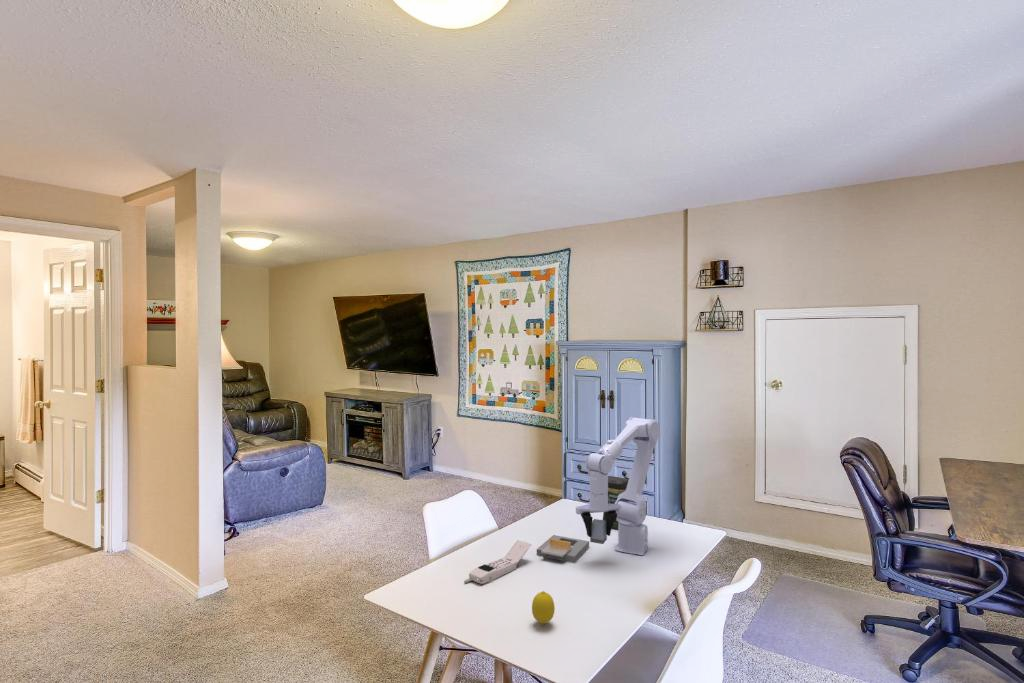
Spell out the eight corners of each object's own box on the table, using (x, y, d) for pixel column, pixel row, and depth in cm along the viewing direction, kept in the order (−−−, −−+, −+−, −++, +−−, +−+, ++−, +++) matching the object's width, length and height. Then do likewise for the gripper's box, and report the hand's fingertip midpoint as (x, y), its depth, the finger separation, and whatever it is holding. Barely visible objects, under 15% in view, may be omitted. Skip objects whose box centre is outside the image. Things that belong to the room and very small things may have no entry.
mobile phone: (533, 543, 167) (477, 568, 148) (533, 562, 167) (477, 589, 148) (518, 539, 171) (462, 562, 152) (518, 557, 171) (462, 583, 152)
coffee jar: (599, 526, 200) (599, 477, 200) (608, 520, 206) (608, 473, 206) (623, 531, 194) (624, 481, 194) (632, 525, 201) (632, 476, 201)
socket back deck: (581, 555, 173) (581, 548, 173) (574, 562, 166) (574, 556, 166) (545, 548, 178) (545, 542, 178) (536, 555, 172) (536, 549, 172)
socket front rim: (589, 547, 179) (589, 541, 179) (587, 548, 178) (587, 542, 178) (553, 540, 185) (553, 534, 185) (551, 542, 184) (551, 536, 184)
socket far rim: (561, 543, 182) (561, 538, 182) (554, 549, 177) (554, 543, 177) (551, 542, 184) (551, 536, 184) (545, 548, 178) (545, 542, 178)
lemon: (553, 618, 133) (553, 586, 133) (555, 630, 127) (555, 596, 127) (531, 618, 133) (531, 586, 133) (532, 630, 127) (532, 597, 127)
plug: (606, 539, 168) (606, 520, 168) (602, 544, 164) (603, 524, 164) (594, 537, 170) (594, 518, 170) (590, 541, 166) (590, 522, 166)
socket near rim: (587, 548, 178) (587, 542, 178) (581, 555, 173) (581, 548, 173) (577, 546, 180) (577, 540, 180) (571, 553, 174) (571, 547, 174)
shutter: (571, 548, 172) (571, 542, 172) (563, 557, 165) (563, 550, 165) (550, 544, 175) (550, 538, 175) (541, 552, 168) (541, 546, 168)
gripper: (615, 487, 173) (615, 529, 172) (572, 489, 170) (572, 532, 170) (624, 493, 166) (624, 537, 166) (579, 496, 163) (579, 540, 163)
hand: (598, 535), depth 167 cm, fingers closed on plug, 6 cm apart
